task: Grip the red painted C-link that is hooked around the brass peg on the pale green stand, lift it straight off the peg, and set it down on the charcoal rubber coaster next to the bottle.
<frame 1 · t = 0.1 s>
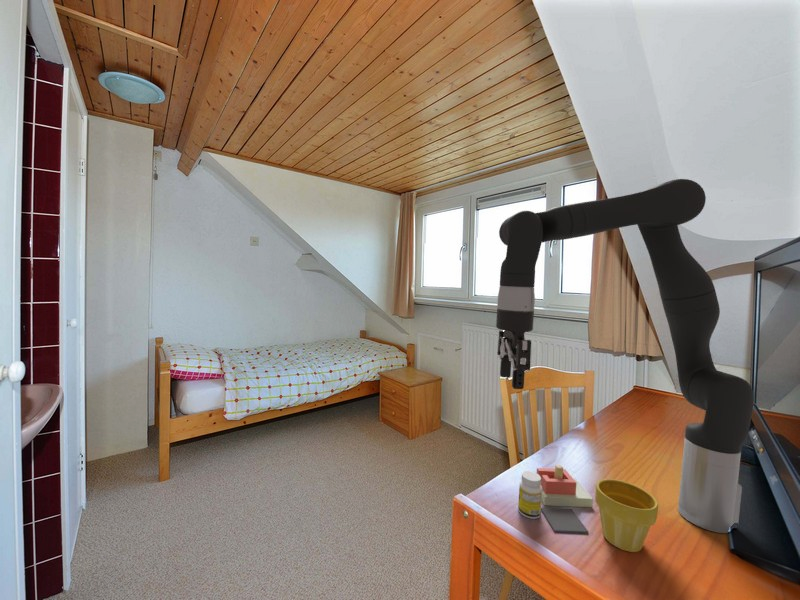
hand: (510, 382, 75), 29 cm above the table, tool pointing down, fingers open, 8 cm apart
coaster: (563, 520, 75), on the table
c link: (555, 487, 84), point 2 cm above the table, touching stand
plant pot: (622, 540, 70), on the table
supplement bottle: (529, 513, 77), on the table
stand: (560, 495, 84), on the table
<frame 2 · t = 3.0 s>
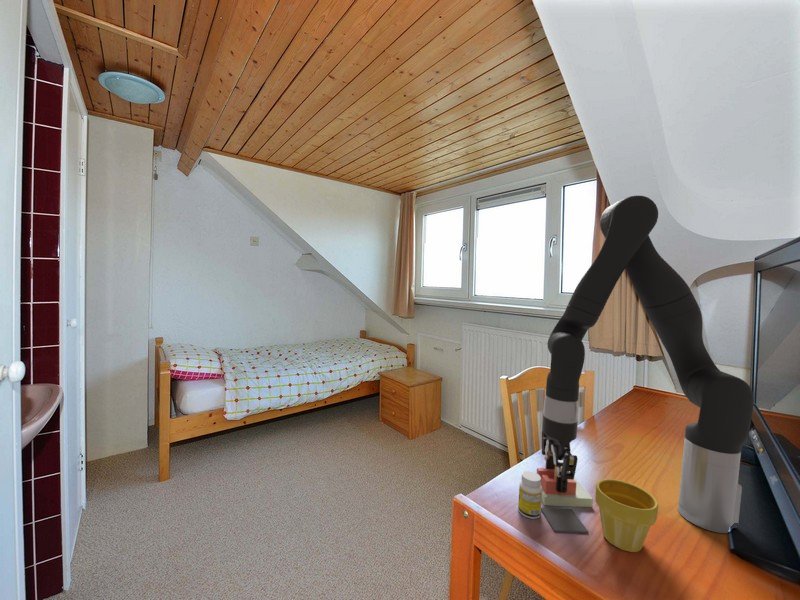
hand: (555, 483, 84), 3 cm above the table, tool pointing down, fingers closed on c link, 5 cm apart
c link: (555, 487, 84), point 2 cm above the table, touching gripper, stand
everything else where it was.
when the fingers open (3 cm above the table, at t = 8.5 s): c link drops 1 cm, resting on coaster.
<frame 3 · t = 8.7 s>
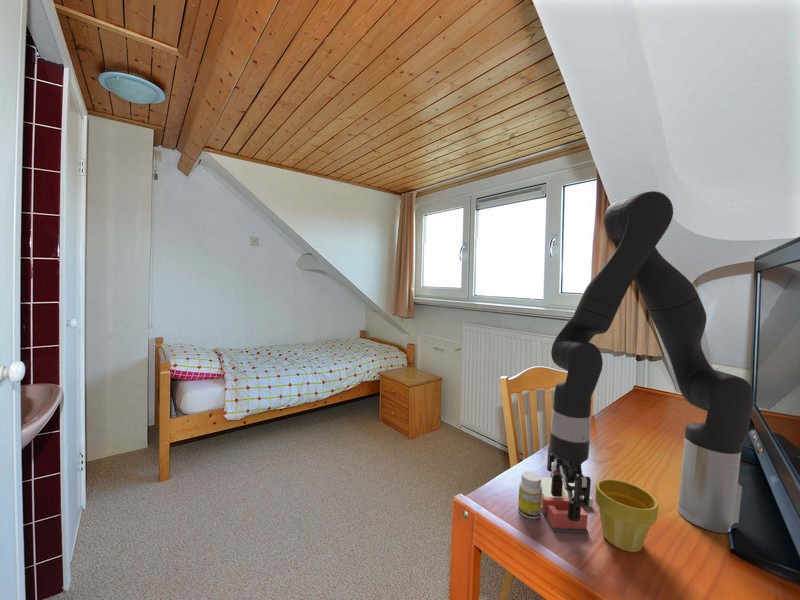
hand: (564, 507, 75), 3 cm above the table, tool pointing down, fingers open, 7 cm apart
c link: (563, 518, 75), resting on coaster
everything else where it was.
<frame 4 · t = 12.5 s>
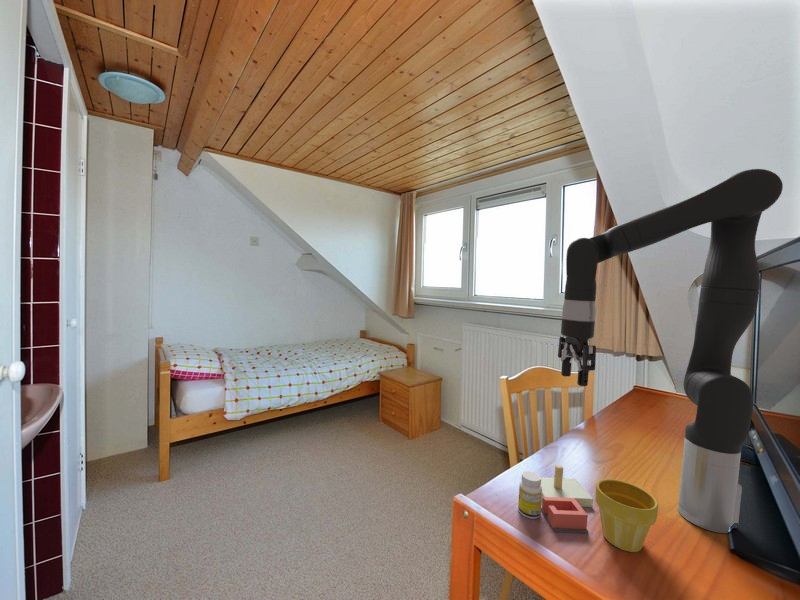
hand: (573, 380, 90), 26 cm above the table, tool pointing down, fingers open, 8 cm apart
nothing on the table moved.
at the end: c link inside the target area on the coaster (0.0 cm from its centre), point 0.4 cm above the coaster's base; the gripper is holding nothing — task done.
